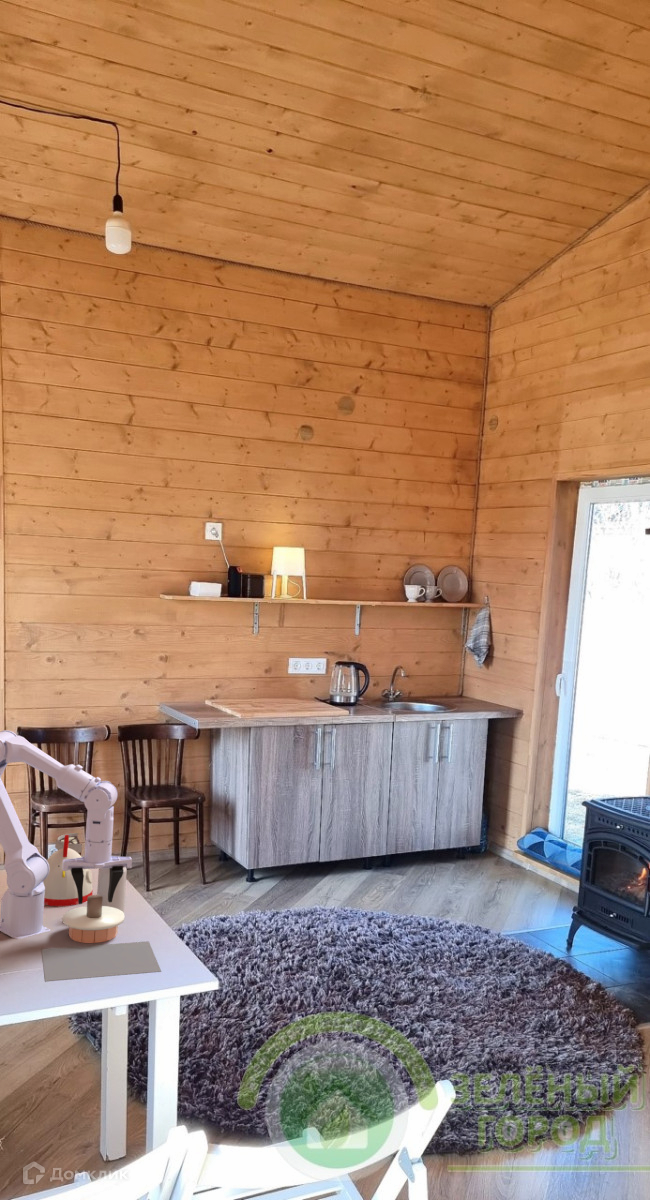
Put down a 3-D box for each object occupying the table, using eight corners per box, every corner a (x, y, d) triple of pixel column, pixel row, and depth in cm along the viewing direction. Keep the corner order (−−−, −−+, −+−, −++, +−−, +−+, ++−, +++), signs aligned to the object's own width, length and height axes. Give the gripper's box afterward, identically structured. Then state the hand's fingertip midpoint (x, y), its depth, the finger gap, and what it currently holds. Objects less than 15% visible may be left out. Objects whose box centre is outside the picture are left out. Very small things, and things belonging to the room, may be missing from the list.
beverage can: (128, 917, 206) (131, 865, 206) (102, 922, 202) (105, 869, 202) (117, 909, 211) (120, 858, 211) (91, 913, 207) (94, 862, 207)
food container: (51, 870, 238) (53, 833, 238) (75, 869, 240) (77, 832, 240) (54, 884, 226) (57, 845, 226) (79, 883, 228) (82, 844, 229)
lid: (50, 918, 192) (52, 895, 193) (101, 905, 202) (102, 884, 202) (85, 935, 184) (86, 911, 184) (136, 920, 194) (137, 898, 194)
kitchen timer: (30, 907, 210) (34, 843, 210) (35, 888, 223) (39, 828, 223) (91, 905, 213) (95, 843, 213) (92, 887, 226) (96, 828, 226)
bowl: (59, 939, 191) (60, 920, 191) (91, 926, 200) (92, 908, 200) (94, 950, 186) (95, 931, 186) (126, 935, 195) (127, 917, 195)
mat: (41, 951, 183) (41, 949, 183) (148, 944, 191) (148, 941, 191) (44, 984, 168) (45, 981, 168) (161, 974, 176) (161, 971, 176)
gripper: (65, 845, 187) (61, 909, 187) (135, 842, 192) (131, 905, 192) (63, 836, 194) (59, 898, 194) (130, 834, 199) (127, 895, 199)
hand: (95, 901), depth 193 cm, fingers open, 6 cm apart
